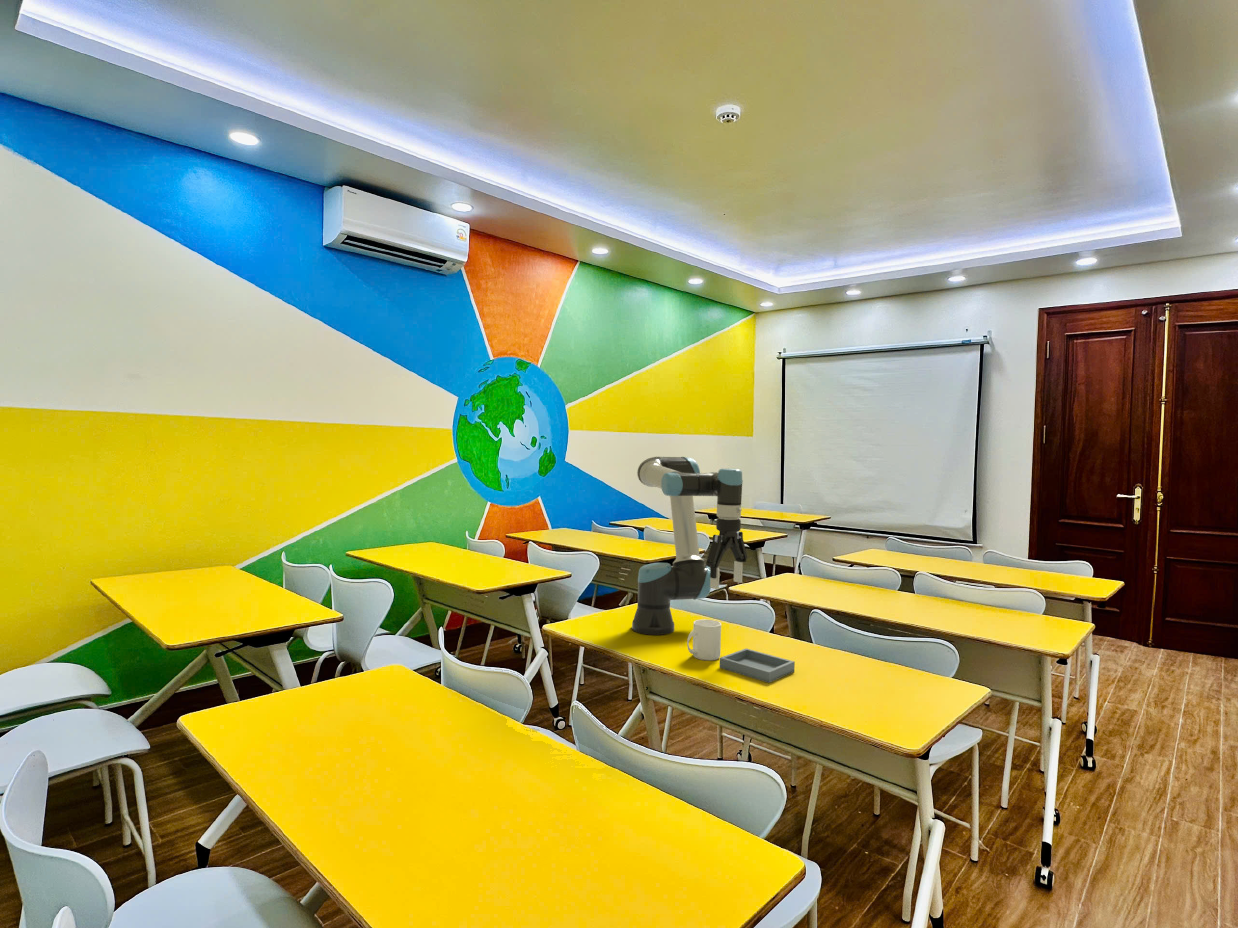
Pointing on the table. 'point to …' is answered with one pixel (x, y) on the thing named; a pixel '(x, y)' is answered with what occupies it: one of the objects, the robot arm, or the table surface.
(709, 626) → the mug
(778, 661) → the tray
